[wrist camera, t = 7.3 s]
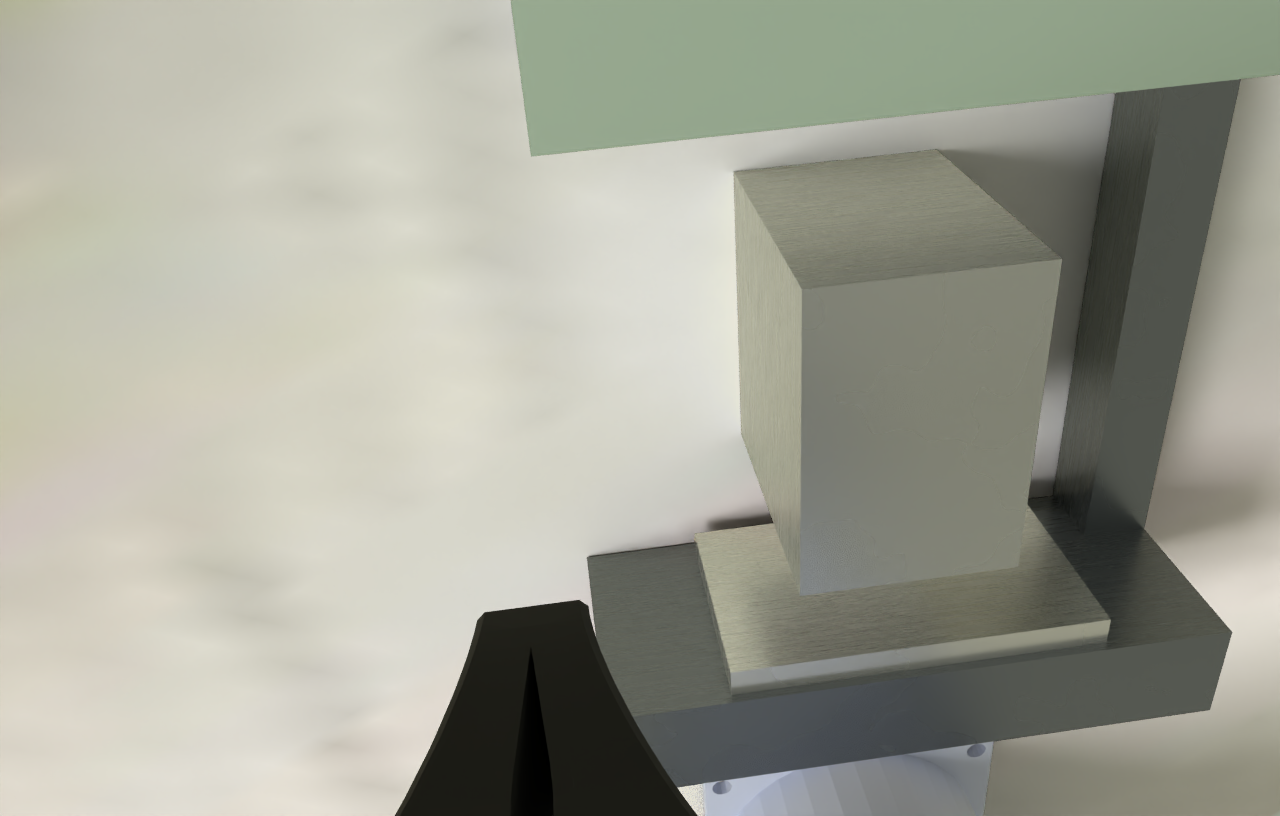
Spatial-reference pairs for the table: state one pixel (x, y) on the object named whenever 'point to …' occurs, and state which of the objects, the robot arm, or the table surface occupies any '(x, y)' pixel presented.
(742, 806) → the robot arm
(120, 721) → the table surface
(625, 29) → the block
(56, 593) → the table surface
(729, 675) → the vise frame
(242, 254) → the table surface
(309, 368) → the table surface
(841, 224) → the steel block
